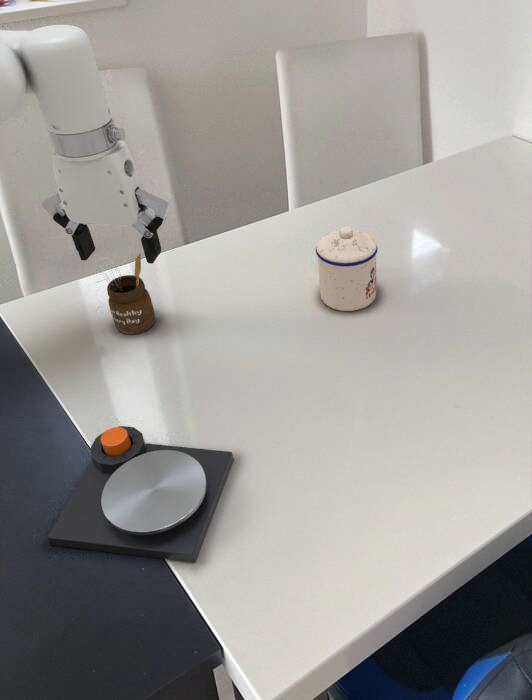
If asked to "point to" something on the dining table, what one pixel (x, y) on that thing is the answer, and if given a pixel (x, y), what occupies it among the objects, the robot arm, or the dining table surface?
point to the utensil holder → (130, 301)
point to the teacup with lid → (347, 269)
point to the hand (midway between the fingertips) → (121, 256)
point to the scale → (99, 534)
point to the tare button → (115, 441)
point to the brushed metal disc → (154, 492)
